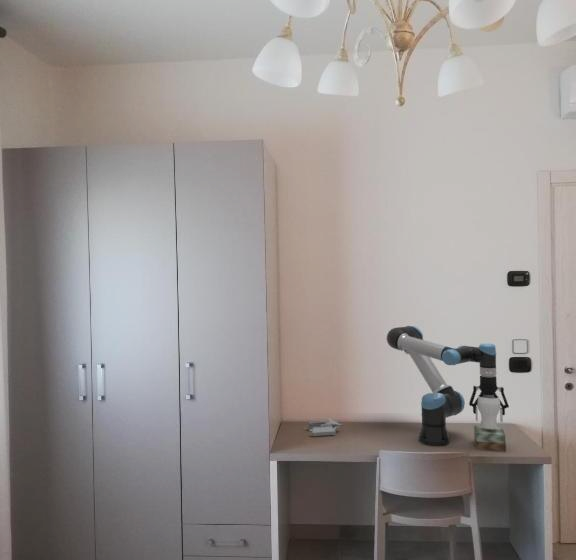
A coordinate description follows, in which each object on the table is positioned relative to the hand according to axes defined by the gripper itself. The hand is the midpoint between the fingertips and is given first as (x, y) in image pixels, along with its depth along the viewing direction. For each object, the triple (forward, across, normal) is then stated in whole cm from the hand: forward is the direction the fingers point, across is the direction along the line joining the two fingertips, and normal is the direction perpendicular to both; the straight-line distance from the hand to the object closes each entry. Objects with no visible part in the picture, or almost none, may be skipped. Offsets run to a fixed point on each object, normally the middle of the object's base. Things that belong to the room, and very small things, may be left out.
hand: (488, 421), depth 246 cm
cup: (+3, 0, 0) cm, 3 cm away
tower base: (+12, 0, 0) cm, 12 cm away
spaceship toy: (+13, -83, +4) cm, 84 cm away
